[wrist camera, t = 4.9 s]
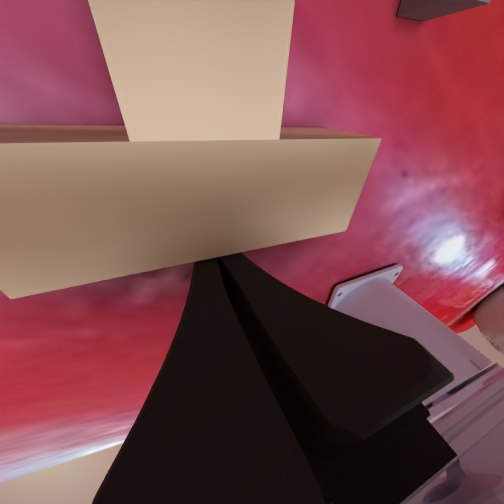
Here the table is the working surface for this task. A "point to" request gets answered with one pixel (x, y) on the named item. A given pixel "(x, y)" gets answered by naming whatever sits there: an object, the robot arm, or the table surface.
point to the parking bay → (435, 8)
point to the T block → (175, 153)
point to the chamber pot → (492, 318)
